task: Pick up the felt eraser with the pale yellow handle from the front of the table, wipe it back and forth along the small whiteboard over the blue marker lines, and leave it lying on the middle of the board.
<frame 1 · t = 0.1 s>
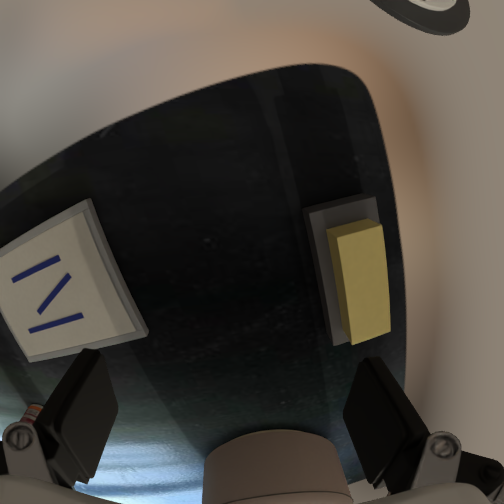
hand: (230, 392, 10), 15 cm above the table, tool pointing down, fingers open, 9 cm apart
eraser: (345, 267, 25), on the table
whiteboard: (51, 293, 24), on the table
container: (270, 458, 33), on the table
pill bottle: (47, 416, 30), on the table
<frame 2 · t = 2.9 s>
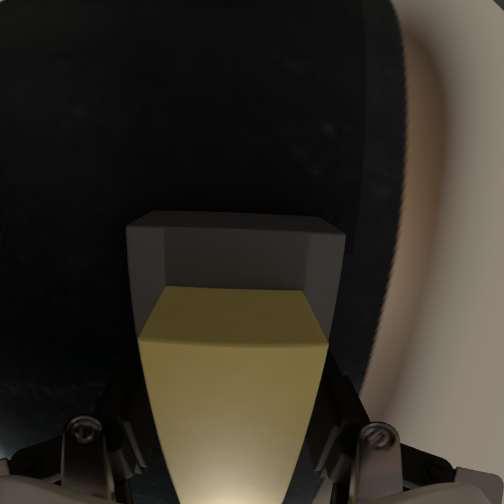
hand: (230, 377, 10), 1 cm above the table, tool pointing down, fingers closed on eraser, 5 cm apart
eraser: (230, 366, 11), on the table, touching gripper
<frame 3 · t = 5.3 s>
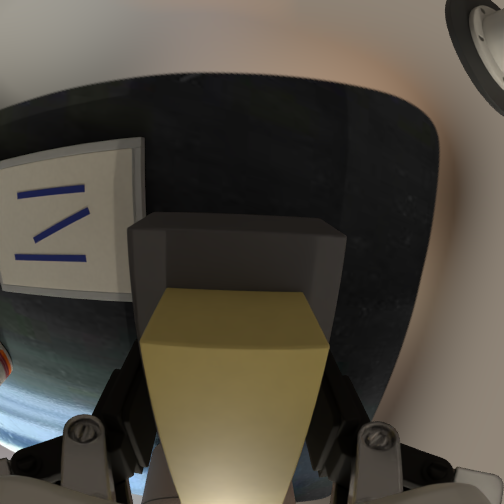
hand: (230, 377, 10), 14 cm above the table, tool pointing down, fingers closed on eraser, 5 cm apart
eraser: (231, 367, 11), point 13 cm above the table, touching gripper
whiteboard: (56, 224, 22), on the table
container: (220, 460, 32), on the table
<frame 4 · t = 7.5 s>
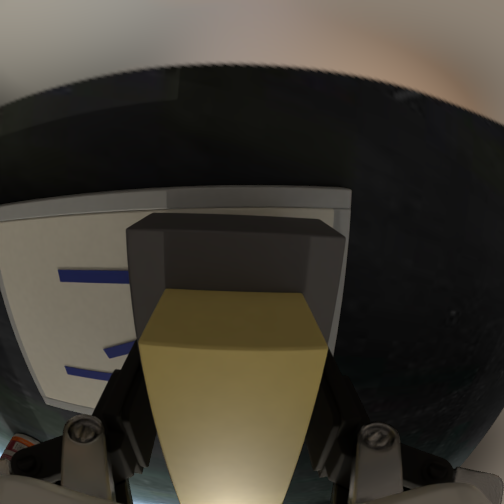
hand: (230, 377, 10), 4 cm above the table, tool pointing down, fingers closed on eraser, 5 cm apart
eraser: (231, 367, 11), point 3 cm above the table, touching gripper
whiteboard: (148, 326, 14), on the table
pill bottle: (40, 450, 18), on the table
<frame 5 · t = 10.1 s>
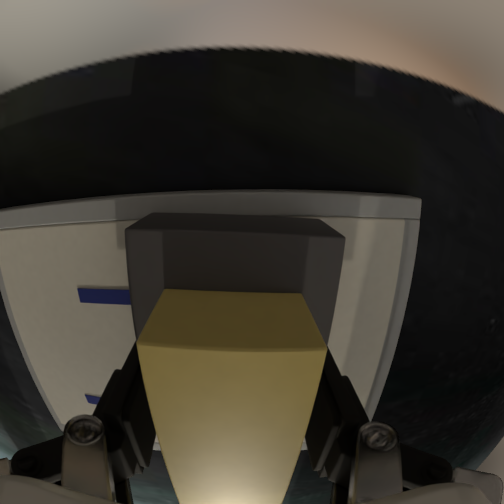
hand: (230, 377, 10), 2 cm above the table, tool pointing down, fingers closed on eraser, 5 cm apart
eraser: (230, 367, 11), point 1 cm above the table, touching gripper
whiteboard: (187, 350, 12), on the table
when the fingers open (2 cm above the table, at t = 12.0 s): eraser stays where it is, resting on whiteboard.
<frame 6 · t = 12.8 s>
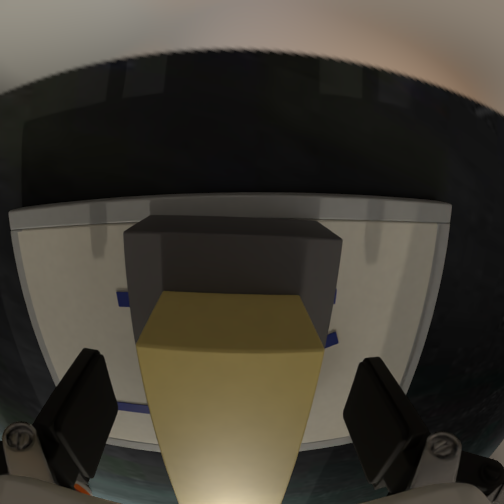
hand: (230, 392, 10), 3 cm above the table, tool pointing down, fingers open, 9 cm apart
eraser: (229, 369, 11), point 1 cm above the table, touching whiteboard
whiteboard: (228, 352, 12), on the table
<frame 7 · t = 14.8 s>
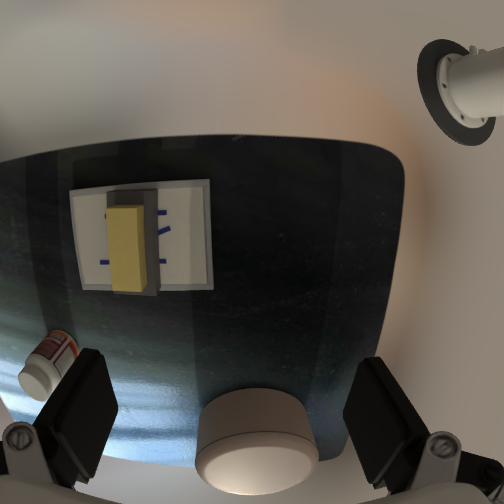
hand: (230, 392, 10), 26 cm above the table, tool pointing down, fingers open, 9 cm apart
eraser: (136, 239, 33), point 1 cm above the table, touching whiteboard
whiteboard: (139, 237, 34), on the table
container: (252, 418, 44), on the table
pill bottle: (64, 344, 38), on the table
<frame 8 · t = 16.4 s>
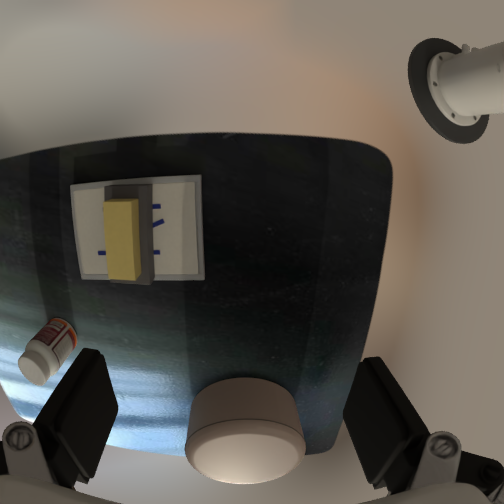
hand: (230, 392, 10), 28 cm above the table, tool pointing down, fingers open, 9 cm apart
eraser: (132, 231, 35), point 1 cm above the table, touching whiteboard
whiteboard: (134, 229, 36), on the table
container: (243, 408, 46), on the table
pill bottle: (64, 332, 40), on the table
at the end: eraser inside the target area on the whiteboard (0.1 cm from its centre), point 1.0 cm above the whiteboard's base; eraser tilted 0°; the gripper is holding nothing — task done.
